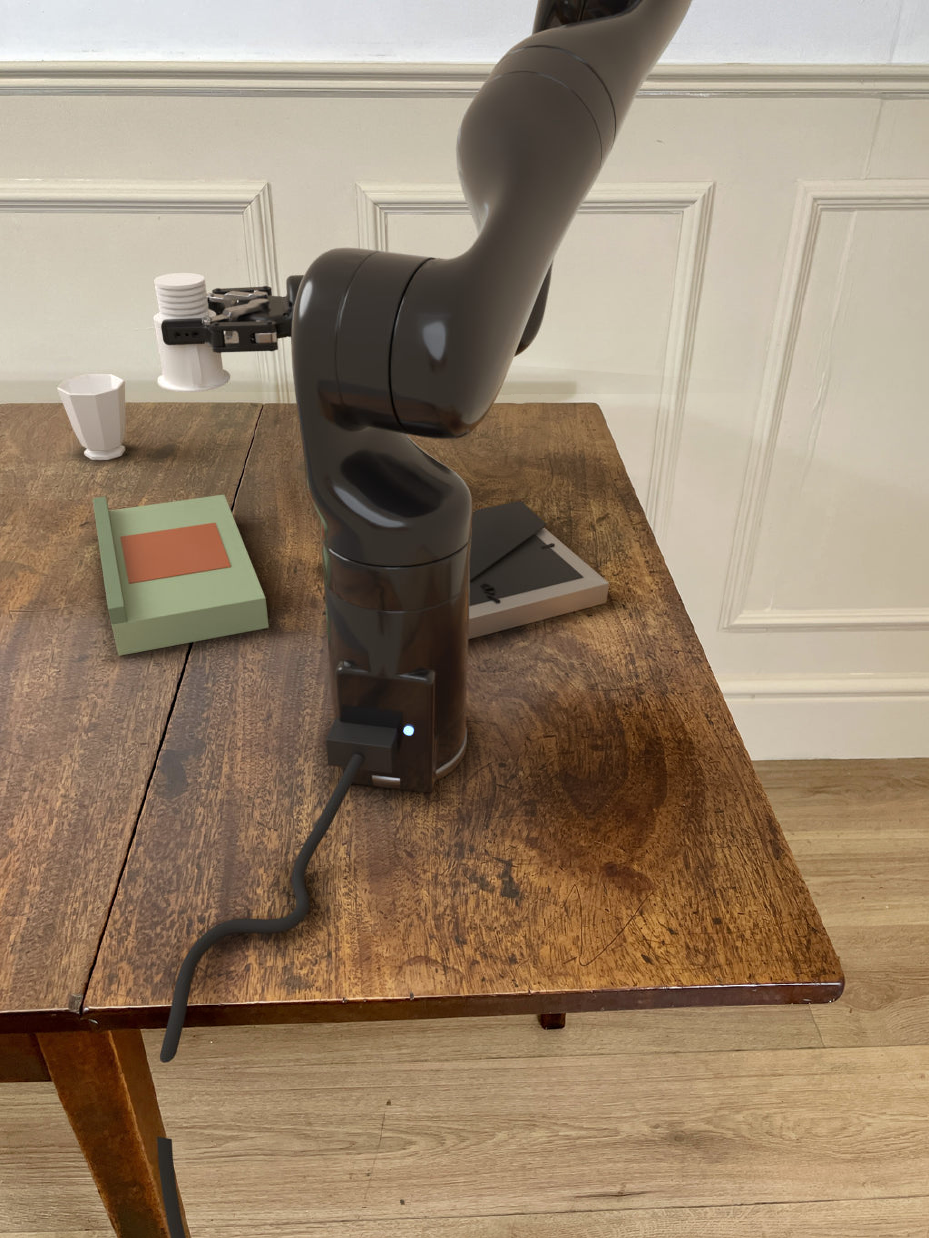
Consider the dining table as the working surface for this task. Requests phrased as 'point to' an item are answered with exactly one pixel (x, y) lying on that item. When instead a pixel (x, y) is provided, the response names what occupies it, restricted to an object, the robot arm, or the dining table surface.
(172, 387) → the downlight
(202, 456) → the dining table surface
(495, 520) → the picture frame
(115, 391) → the cup
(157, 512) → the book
